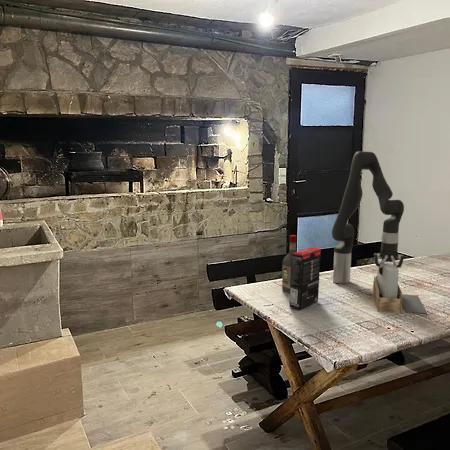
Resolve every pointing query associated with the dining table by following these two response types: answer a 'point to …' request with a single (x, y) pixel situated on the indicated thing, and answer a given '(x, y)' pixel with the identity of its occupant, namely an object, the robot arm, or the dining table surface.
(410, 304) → the mat
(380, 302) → the carton
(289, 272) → the liquor
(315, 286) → the graphics card box
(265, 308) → the dining table surface
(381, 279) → the skincare box
